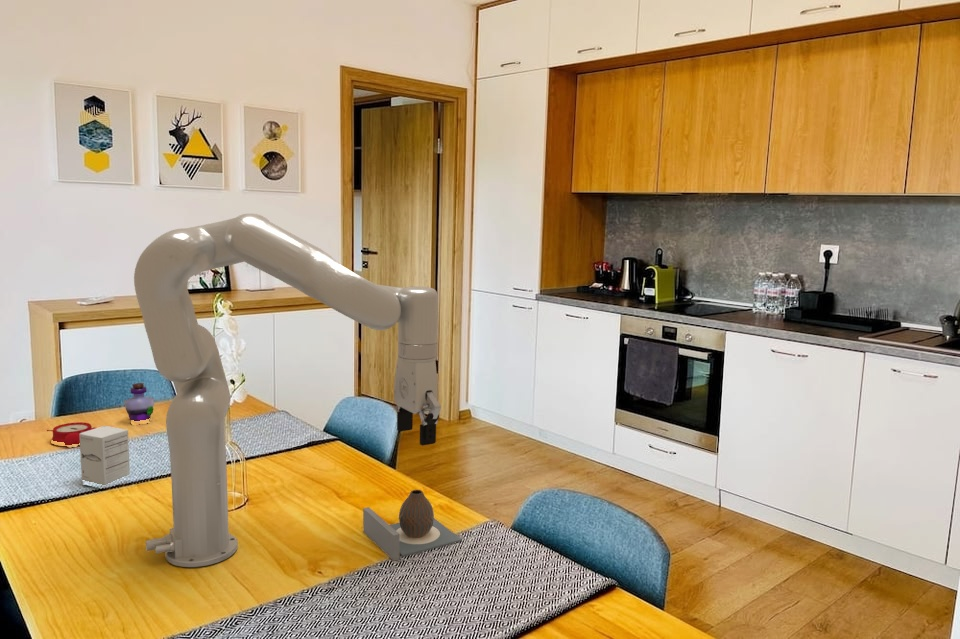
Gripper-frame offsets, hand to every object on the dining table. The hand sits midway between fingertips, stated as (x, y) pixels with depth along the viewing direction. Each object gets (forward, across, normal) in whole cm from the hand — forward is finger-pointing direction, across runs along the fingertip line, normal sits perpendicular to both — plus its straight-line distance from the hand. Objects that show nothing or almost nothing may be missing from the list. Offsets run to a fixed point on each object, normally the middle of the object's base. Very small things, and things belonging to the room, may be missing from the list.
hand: (415, 437), depth 138 cm
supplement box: (+21, -59, -50) cm, 80 cm away
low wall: (+20, +1, -8) cm, 22 cm away
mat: (+20, 0, 0) cm, 20 cm away
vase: (+20, 0, 0) cm, 20 cm away
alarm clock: (+21, -96, -54) cm, 112 cm away
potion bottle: (+21, -107, -37) cm, 115 cm away
